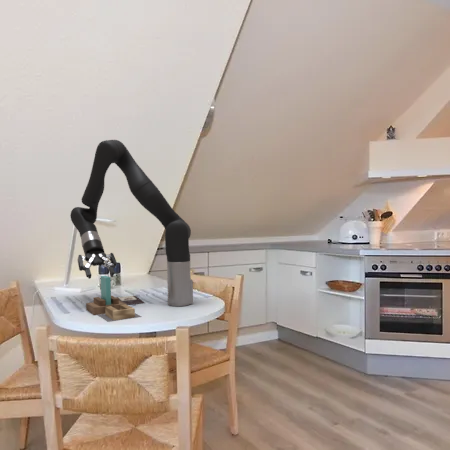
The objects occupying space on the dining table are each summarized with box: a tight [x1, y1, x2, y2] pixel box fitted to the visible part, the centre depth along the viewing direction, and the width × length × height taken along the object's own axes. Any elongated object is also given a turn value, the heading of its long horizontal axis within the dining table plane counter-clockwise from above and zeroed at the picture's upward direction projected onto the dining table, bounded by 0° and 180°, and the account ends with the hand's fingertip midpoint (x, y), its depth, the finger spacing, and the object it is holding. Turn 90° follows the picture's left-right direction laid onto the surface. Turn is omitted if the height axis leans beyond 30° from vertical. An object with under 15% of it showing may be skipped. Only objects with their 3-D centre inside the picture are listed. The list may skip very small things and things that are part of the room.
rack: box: [105, 304, 136, 321], centre depth 153 cm, size 7×9×3 cm
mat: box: [97, 312, 142, 323], centre depth 153 cm, size 12×12×1 cm
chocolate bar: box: [115, 295, 146, 306], centre depth 181 cm, size 9×1×18 cm
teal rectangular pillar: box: [100, 275, 112, 305], centre depth 162 cm, size 2×6×10 cm, turn 33°
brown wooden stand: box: [85, 294, 126, 316], centre depth 162 cm, size 12×10×5 cm
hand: (101, 276), depth 166 cm, fingers open, 8 cm apart
